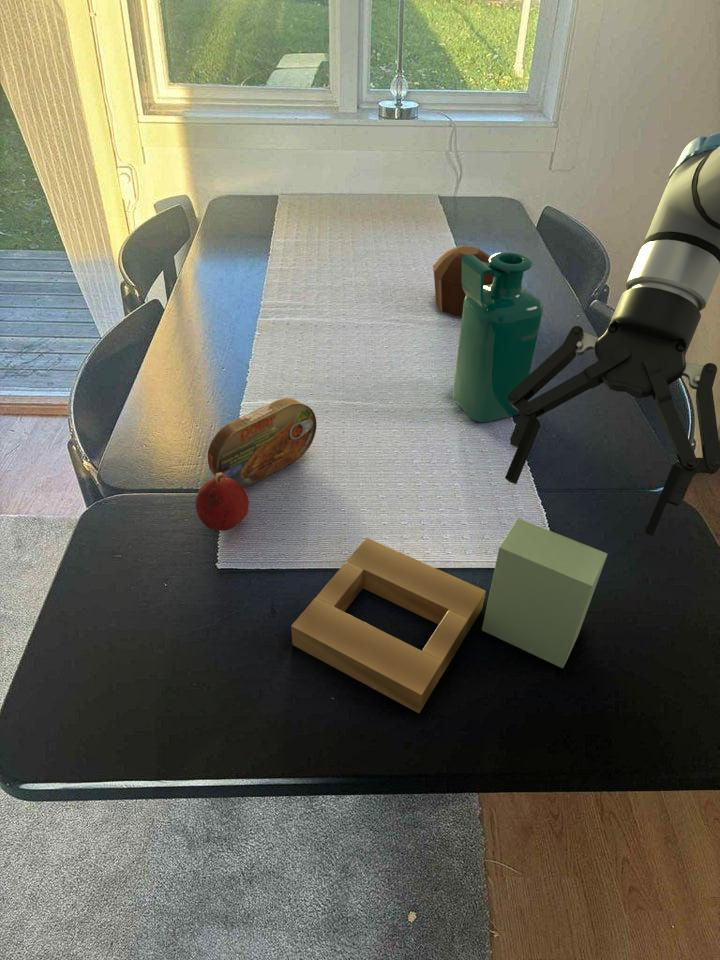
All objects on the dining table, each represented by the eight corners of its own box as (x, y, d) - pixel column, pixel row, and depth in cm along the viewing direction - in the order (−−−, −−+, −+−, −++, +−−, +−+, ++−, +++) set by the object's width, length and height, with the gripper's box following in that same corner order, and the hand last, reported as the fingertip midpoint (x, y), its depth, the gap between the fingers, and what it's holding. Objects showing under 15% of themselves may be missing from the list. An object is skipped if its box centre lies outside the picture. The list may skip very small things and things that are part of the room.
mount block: (365, 556, 78) (366, 537, 76) (482, 609, 72) (486, 590, 70) (292, 645, 68) (290, 625, 66) (419, 713, 63) (421, 695, 61)
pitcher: (497, 383, 105) (521, 239, 90) (528, 414, 99) (560, 265, 85) (439, 396, 102) (455, 249, 87) (467, 428, 96) (489, 277, 82)
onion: (233, 552, 78) (225, 499, 72) (190, 536, 79) (179, 483, 74) (260, 519, 82) (255, 467, 76) (218, 504, 83) (210, 452, 78)
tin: (222, 500, 84) (214, 445, 78) (208, 487, 86) (199, 432, 80) (319, 449, 92) (317, 395, 86) (303, 438, 94) (301, 385, 88)
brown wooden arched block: (496, 322, 119) (505, 266, 113) (431, 320, 119) (437, 264, 113) (488, 291, 128) (496, 237, 122) (428, 289, 128) (433, 235, 122)
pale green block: (498, 600, 73) (517, 517, 65) (577, 636, 70) (607, 553, 62) (481, 630, 70) (499, 547, 62) (562, 668, 67) (592, 586, 59)
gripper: (796, 351, 65) (709, 560, 65) (542, 285, 75) (466, 467, 75) (816, 322, 59) (718, 556, 59) (533, 254, 68) (450, 455, 68)
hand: (576, 507), depth 67 cm, fingers open, 13 cm apart
